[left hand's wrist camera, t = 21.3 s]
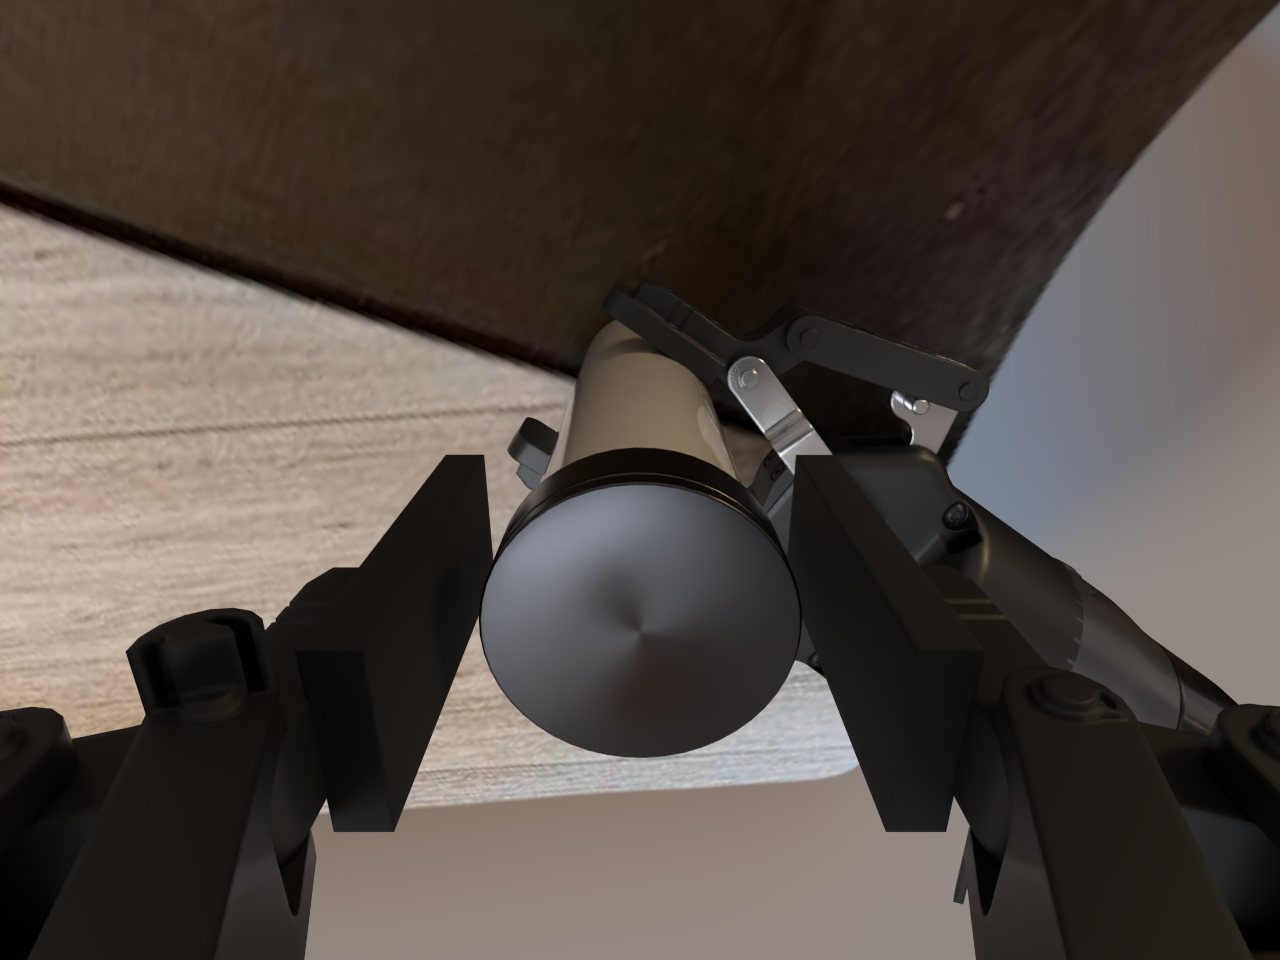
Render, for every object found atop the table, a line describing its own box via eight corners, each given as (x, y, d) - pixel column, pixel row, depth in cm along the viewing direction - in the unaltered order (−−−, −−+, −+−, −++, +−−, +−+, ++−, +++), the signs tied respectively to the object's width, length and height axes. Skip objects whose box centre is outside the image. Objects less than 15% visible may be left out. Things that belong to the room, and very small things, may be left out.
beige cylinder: (568, 404, 27) (471, 675, 12) (605, 296, 26) (552, 441, 10) (672, 441, 28) (714, 748, 12) (714, 338, 26) (824, 536, 11)
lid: (809, 658, 13) (831, 718, 11) (554, 723, 13) (543, 787, 12) (744, 408, 11) (760, 439, 9) (453, 493, 11) (426, 536, 10)
